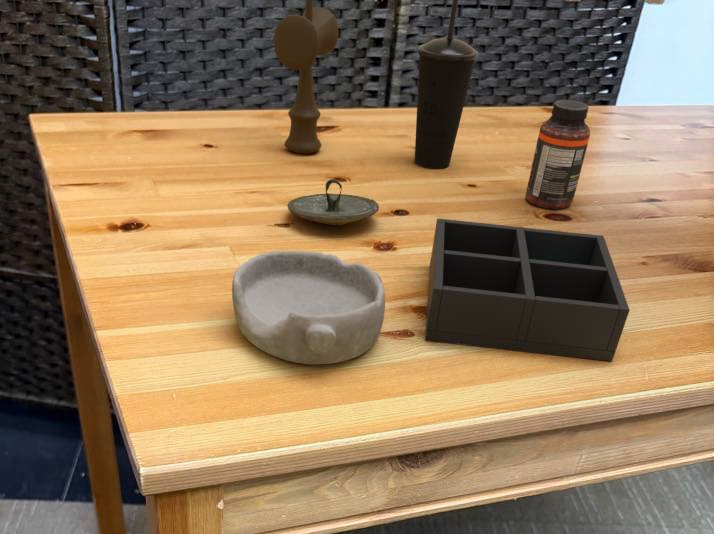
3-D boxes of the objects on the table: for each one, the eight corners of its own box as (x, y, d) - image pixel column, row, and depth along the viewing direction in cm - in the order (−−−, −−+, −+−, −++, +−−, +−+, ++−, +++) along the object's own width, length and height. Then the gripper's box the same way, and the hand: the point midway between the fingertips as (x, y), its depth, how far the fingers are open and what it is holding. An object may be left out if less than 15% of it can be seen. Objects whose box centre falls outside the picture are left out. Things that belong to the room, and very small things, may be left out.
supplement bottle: (530, 190, 106) (552, 94, 98) (576, 199, 104) (602, 102, 97) (518, 204, 102) (541, 104, 94) (565, 214, 100) (592, 113, 92)
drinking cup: (411, 151, 116) (433, -18, 102) (464, 159, 114) (493, -11, 101) (397, 166, 110) (419, -10, 97) (453, 175, 108) (482, -3, 95)
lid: (333, 257, 90) (348, 216, 86) (267, 211, 92) (278, 169, 89) (384, 235, 97) (399, 195, 93) (321, 192, 99) (333, 152, 96)
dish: (339, 387, 67) (344, 332, 64) (200, 340, 72) (198, 286, 68) (410, 320, 77) (417, 269, 73) (283, 282, 81) (285, 233, 78)
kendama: (269, 156, 110) (273, -21, 97) (294, 137, 117) (301, -30, 104) (311, 163, 109) (320, -15, 96) (334, 144, 116) (345, -25, 103)
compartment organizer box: (589, 282, 85) (603, 235, 82) (612, 361, 73) (629, 309, 69) (429, 265, 86) (437, 218, 83) (425, 340, 74) (433, 288, 71)
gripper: (568, -176, 74) (532, 4, 83) (769, -161, 77) (713, 10, 87) (542, -177, 79) (511, -7, 88) (733, -163, 82) (683, 0, 91)
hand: (612, 2), depth 87 cm, fingers open, 8 cm apart
